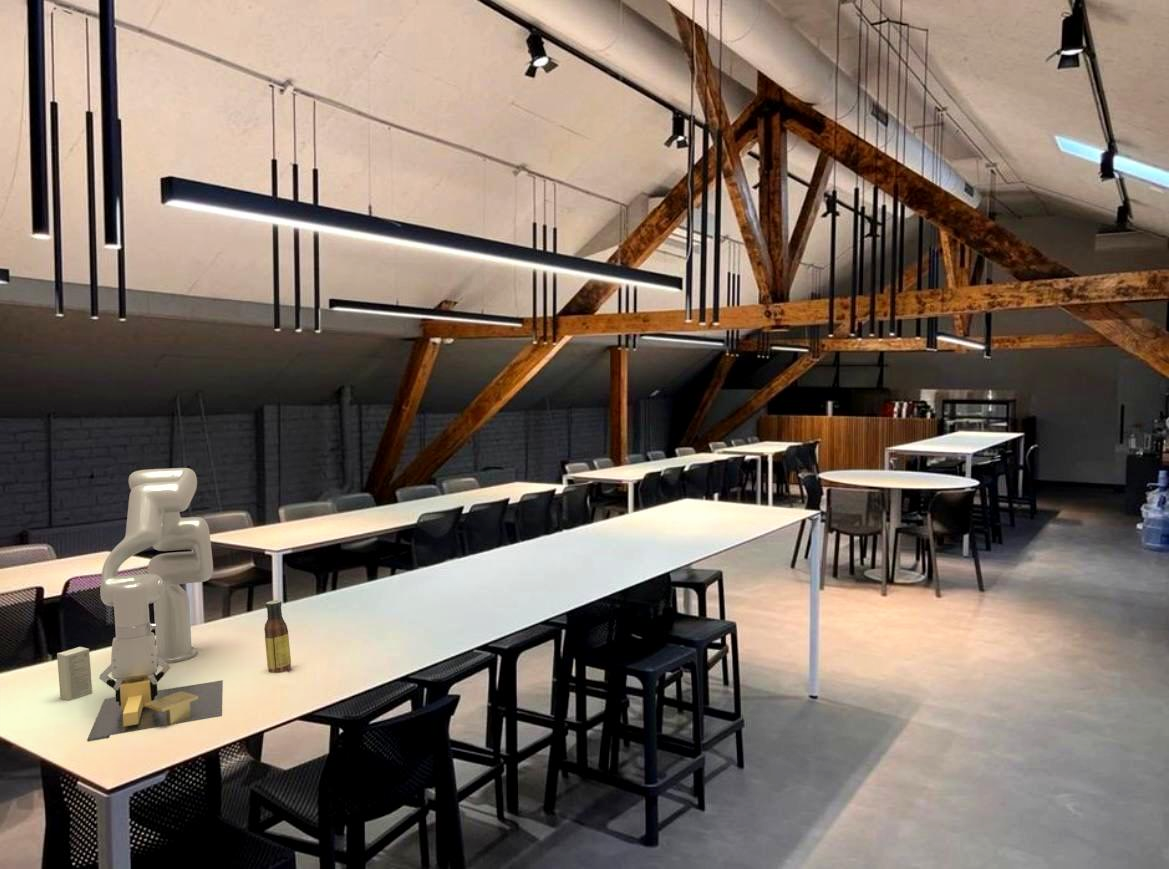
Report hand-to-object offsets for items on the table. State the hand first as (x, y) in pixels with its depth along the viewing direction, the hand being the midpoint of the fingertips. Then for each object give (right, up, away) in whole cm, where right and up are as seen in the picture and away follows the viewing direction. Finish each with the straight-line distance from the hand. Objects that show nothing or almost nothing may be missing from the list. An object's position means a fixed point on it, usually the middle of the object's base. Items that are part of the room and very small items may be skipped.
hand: (137, 700), depth 203 cm
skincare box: (-22, -2, +11) cm, 25 cm away
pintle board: (+7, -2, -1) cm, 7 cm away
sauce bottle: (+26, 0, +25) cm, 36 cm away
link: (+2, -1, -5) cm, 6 cm away
